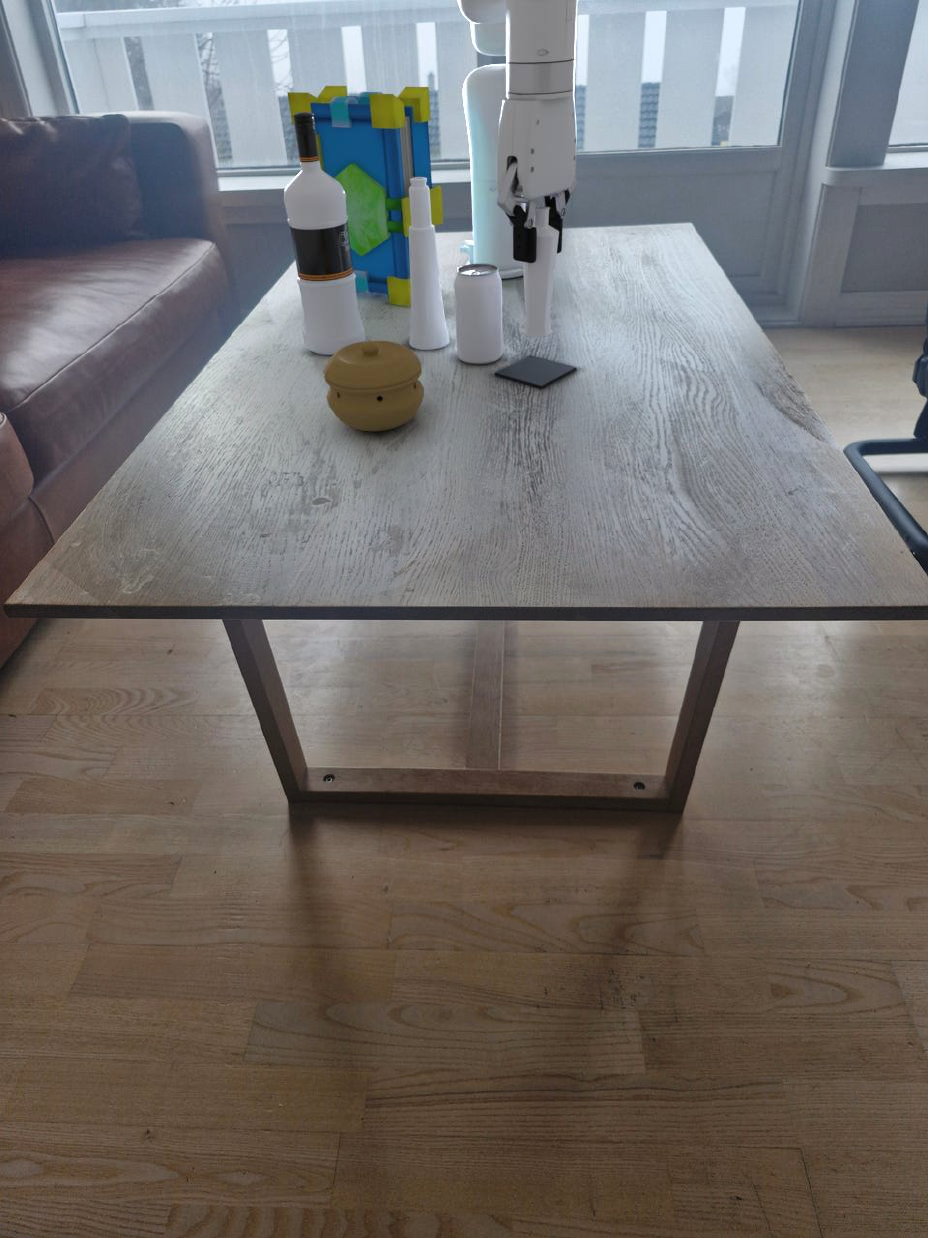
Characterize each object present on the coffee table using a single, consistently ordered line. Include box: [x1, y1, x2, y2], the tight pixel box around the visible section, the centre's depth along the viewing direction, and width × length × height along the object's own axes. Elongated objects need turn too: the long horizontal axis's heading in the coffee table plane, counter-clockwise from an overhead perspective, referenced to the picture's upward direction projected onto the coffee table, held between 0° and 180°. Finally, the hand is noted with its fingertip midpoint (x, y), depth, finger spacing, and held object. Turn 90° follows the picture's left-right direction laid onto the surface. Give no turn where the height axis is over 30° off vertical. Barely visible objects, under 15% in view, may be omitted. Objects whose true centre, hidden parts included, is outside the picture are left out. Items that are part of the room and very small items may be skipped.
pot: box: [323, 339, 425, 432], centre depth 95 cm, size 12×12×10 cm
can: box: [453, 263, 503, 366], centre depth 110 cm, size 6×6×12 cm
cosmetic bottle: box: [408, 177, 450, 351], centre depth 112 cm, size 6×6×22 cm
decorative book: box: [286, 85, 444, 308], centre depth 132 cm, size 14×23×30 cm, turn 58°
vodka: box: [283, 112, 367, 356], centre depth 111 cm, size 9×9×30 cm
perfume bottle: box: [522, 205, 559, 339], centre depth 101 cm, size 5×4×15 cm
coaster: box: [494, 354, 577, 390], centre depth 108 cm, size 8×8×1 cm
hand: (537, 254), depth 99 cm, fingers closed on perfume bottle, 4 cm apart
